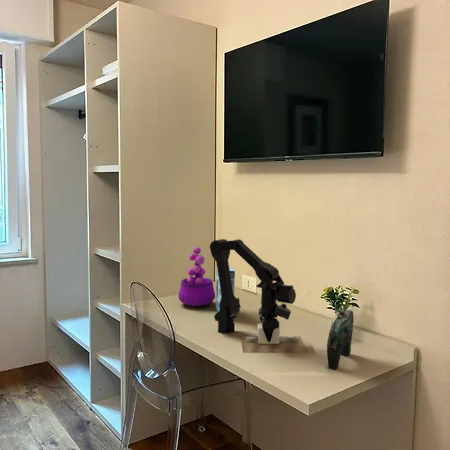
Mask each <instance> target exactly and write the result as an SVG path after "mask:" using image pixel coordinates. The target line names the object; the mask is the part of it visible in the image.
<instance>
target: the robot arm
mask: <svg viewBox="0 0 450 450" xmlns="http://www.w3.org/2000/svg"><path fill="white" fill-rule="evenodd" d="M209 251H210V253H211V256H212V258H213V260H214V261H215V264H216V265H217V269H218V276H219V283H220V289H221V300H220V304H219V312H218V311H217V312H216V313H215V315H214V316H213V317H214V320H215V322H217V332H218V333H220V334H231V333H235V331H236V329H235V324H236V323H235V322H234V319H236V318H237V316H238V314H239V313H240V310H241V309H240V308H242V306H241V304H240V297H236V296H235V294H234V295H233V289H232V283H231V276H230V270H229V267H230V265H229V257H230V255H231V251H234V252H235V253H236V254H238V255H239V257H240V258H241V259H242V260H244V261H245V262H246V263H247V264H248V265H249V266H250V267H251V268H253V271H254V272H255V275H256V276H257V279H259V281H260V282H259V283H258V284H257V285H256V288H259V289H260V288H261V294H260V295H261V300H260V305H261V307H260V308H259V309H258V316H259V320H260V324H262V328H263V330H264V333H265V336H266V339H267V341H268V342H270V341H271V338H272V334H273V331H274V329H276V328H280V321H279V320H278V317H281V318H283V319H285V320H289V319H290V316H291V314H292V312H291V309H290V308H288V307H287V304H289V305H293V304H294V303H295V301H296V297H297V293H296V290H295V289H294V285H292V284H291V285H289V284H285V282H284V281H283V278H282V277H281V275H280V271H279V269H278V268H277V267H275V266H274V265H272V264H271V263H269V262H266V261H264V260H263V259H261V258H260V256H259V255H257V254H256V253H255V252H254V251H253V250H252V249H250V248H249V247H248V246H247V244H245V243H244V241H243V240H242V239H241V238H240V239H239V238H238V239H234V240H227V239H225V238H220V239H217V240H213V241H211V243H210V244H209ZM277 302H278V303H281V304H280V305H279V304H278V303H277Z"/></svg>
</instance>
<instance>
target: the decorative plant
mask: <svg viewBox="0 0 450 450" xmlns="http://www.w3.org/2000/svg"><path fill="white" fill-rule="evenodd" d="M192 250H193V251H192V252H193V253H191V254H189V257H188V258H189V260H190V261H191V262H192V261H194V266H193V267H191V268H188V270H187V274H188V275H189V277H187V278H183V279H181V282H180V286H179V289H178V299H179V301H180V302H181V303H182V304H184V305H186V306H190V307H202V306H206V305H209V304H212V303H213V301H215V300H216V290H215V289H214V283H213V280H212V279H211V278H207V277H204V275H205V274H206V269H205V268H204V267H202V265H203V264H204V262H205V257H204V256H203V255H200V254H201V252H202V250H201V247H199V246H195V247H194V248H193V249H192Z"/></svg>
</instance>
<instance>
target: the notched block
mask: <svg viewBox="0 0 450 450" xmlns="http://www.w3.org/2000/svg"><path fill="white" fill-rule="evenodd" d="M280 332H281V331H280V327H279V328H276V329H274V331H273V334H272V338H271V341H270V342H268V341H267V339H266V336H265V333H264V330H263V328H262V324H261V323H257V331H256V333H257V335H256V336H257V337H258V343H259V344H279V339H280V336H281V335H280Z"/></svg>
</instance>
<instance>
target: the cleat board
mask: <svg viewBox="0 0 450 450" xmlns="http://www.w3.org/2000/svg"><path fill="white" fill-rule="evenodd" d="M240 343H241V347H242V353H243V354H248V353H249V354H251V353H252V354H253V353H254V354H261V353H262V354H309V351H308V349H307V347H306V345H305V343H304V341H303V340H302V338H301V336H300V335H298V336H297V335H296V336H295V335H294V336H293V335H287V336H285V335H280V339H279V344H259V343H258V337H257V335H240Z"/></svg>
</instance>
